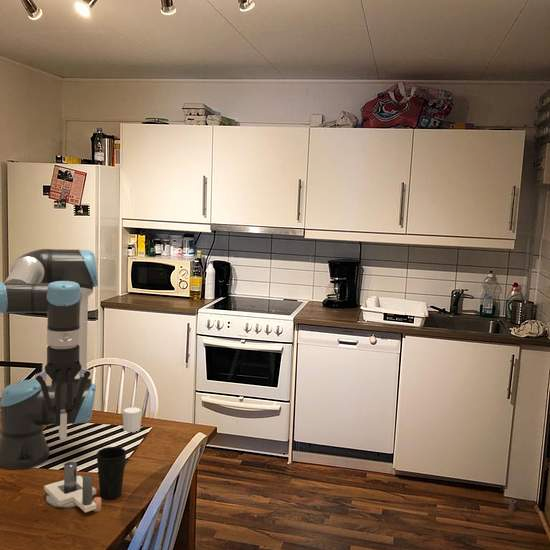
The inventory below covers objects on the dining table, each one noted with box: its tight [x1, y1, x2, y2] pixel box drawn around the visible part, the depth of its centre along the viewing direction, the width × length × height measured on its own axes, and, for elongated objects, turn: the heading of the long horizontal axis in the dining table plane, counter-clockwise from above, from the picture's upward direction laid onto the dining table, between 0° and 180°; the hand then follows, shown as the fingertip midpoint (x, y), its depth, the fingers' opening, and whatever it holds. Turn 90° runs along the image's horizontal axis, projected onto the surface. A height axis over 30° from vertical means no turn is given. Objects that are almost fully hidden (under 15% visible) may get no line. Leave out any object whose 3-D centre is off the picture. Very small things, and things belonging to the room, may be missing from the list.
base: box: [45, 461, 94, 509], centre depth 160 cm, size 12×12×9 cm
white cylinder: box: [121, 406, 143, 433], centre depth 207 cm, size 7×7×7 cm
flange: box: [43, 474, 97, 513], centre depth 158 cm, size 17×10×8 cm, turn 43°
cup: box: [96, 446, 127, 501], centre depth 162 cm, size 8×8×12 cm
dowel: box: [92, 496, 102, 513], centre depth 155 cm, size 2×2×3 cm
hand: (62, 436), depth 150 cm, fingers closed
